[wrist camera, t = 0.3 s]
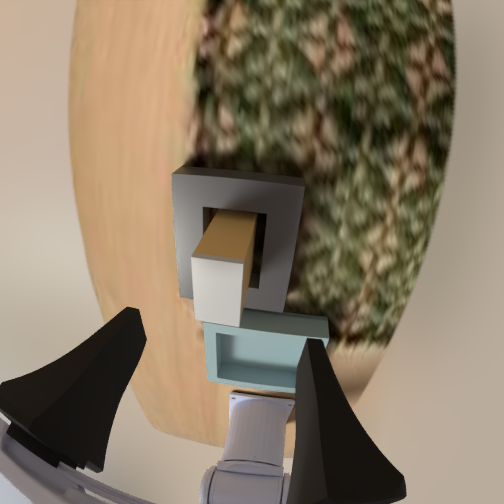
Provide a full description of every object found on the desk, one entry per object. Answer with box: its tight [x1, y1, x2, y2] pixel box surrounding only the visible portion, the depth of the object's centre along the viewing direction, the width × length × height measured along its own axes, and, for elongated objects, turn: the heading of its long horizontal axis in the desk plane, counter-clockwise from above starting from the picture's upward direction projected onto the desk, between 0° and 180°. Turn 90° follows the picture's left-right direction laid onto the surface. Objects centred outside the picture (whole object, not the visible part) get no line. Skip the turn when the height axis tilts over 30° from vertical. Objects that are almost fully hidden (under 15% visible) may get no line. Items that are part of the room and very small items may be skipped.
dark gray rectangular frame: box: [172, 166, 305, 313], centre depth 19 cm, size 10×8×2 cm
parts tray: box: [203, 308, 329, 393], centre depth 25 cm, size 9×10×2 cm
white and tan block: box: [191, 208, 258, 327], centre depth 17 cm, size 4×3×6 cm, turn 176°
